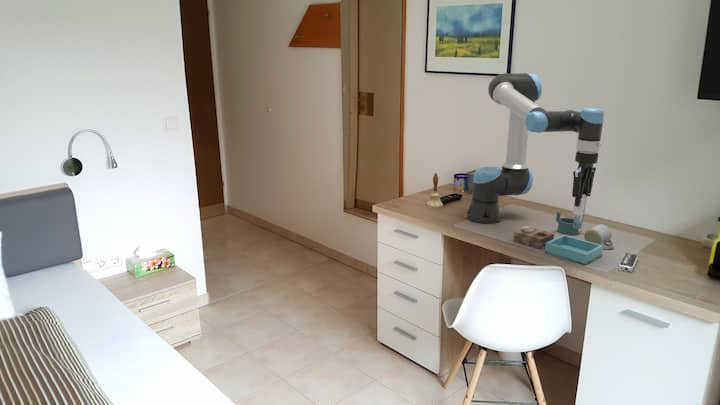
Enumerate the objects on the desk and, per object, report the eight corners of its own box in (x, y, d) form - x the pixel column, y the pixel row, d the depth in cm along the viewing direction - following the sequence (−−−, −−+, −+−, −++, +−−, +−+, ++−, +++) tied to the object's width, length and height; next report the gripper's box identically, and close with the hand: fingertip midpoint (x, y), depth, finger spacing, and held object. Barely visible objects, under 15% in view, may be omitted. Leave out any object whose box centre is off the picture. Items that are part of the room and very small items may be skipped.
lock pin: (571, 227, 202) (576, 193, 198) (575, 225, 204) (579, 192, 200) (579, 229, 200) (583, 195, 196) (582, 227, 202) (587, 194, 198)
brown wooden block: (513, 240, 218) (514, 229, 217) (526, 235, 225) (527, 224, 223) (540, 249, 210) (541, 237, 208) (553, 243, 216) (554, 231, 215)
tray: (544, 252, 206) (545, 242, 205) (562, 244, 215) (563, 234, 214) (585, 264, 195) (586, 254, 194) (602, 255, 204) (603, 245, 203)
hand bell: (440, 208, 260) (442, 176, 256) (423, 205, 264) (425, 174, 259) (445, 203, 268) (447, 172, 263) (429, 201, 271) (430, 170, 267)
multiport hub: (637, 260, 201) (638, 255, 200) (631, 273, 189) (632, 267, 188) (624, 258, 203) (625, 252, 202) (617, 270, 191) (618, 264, 191)
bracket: (582, 233, 228) (585, 213, 226) (568, 236, 224) (571, 216, 221) (565, 227, 236) (568, 207, 233) (551, 230, 231) (553, 210, 229)
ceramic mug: (581, 243, 216) (584, 225, 214) (592, 239, 221) (595, 221, 219) (606, 252, 208) (610, 233, 206) (617, 247, 213) (620, 229, 211)
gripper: (587, 155, 186) (578, 220, 193) (607, 150, 196) (598, 211, 203) (567, 152, 191) (559, 215, 198) (587, 147, 202) (579, 207, 208)
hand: (579, 213), depth 200 cm, fingers closed on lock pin, 3 cm apart
